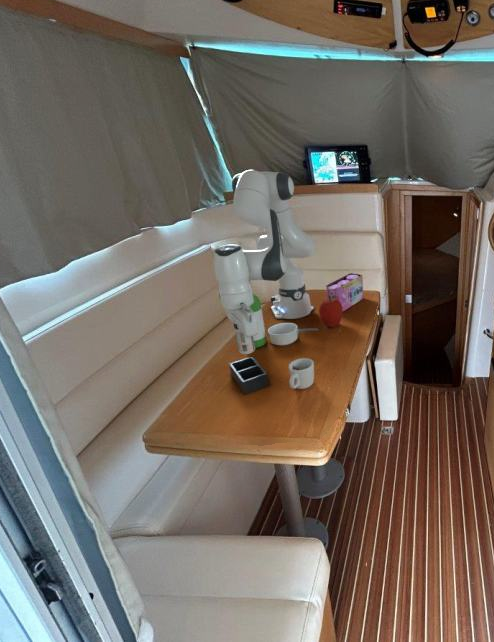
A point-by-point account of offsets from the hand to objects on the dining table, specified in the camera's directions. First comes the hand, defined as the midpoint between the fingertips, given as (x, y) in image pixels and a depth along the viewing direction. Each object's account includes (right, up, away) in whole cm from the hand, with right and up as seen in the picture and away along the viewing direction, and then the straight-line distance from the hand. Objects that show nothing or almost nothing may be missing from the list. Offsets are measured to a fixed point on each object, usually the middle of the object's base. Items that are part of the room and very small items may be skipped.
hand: (244, 339), depth 115 cm
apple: (+15, 0, +50) cm, 52 cm away
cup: (+16, -17, +5) cm, 24 cm away
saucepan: (+3, -5, +35) cm, 36 cm away
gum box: (+16, +9, +73) cm, 76 cm away
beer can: (0, -4, +2) cm, 5 cm away
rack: (-3, -15, +8) cm, 18 cm away
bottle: (-11, -6, +32) cm, 35 cm away
